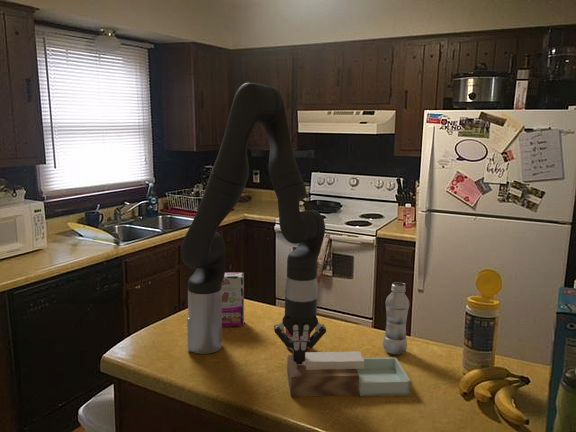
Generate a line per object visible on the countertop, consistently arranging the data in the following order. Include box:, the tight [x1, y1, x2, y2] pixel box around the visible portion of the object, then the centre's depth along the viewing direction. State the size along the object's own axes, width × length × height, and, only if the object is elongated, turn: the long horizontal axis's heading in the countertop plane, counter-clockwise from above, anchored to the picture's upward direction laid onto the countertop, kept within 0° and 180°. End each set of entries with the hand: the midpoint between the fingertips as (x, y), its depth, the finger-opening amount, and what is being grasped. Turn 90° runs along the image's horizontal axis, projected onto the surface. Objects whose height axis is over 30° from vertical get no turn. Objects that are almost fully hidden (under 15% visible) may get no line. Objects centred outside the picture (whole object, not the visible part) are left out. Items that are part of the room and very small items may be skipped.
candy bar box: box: [222, 272, 245, 328], centre depth 154 cm, size 11×5×16 cm, turn 91°
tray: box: [357, 356, 412, 397], centre depth 122 cm, size 12×12×4 cm
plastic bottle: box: [382, 281, 410, 356], centre depth 137 cm, size 6×7×20 cm
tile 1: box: [304, 351, 335, 370], centre depth 120 cm, size 7×5×2 cm
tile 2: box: [331, 351, 364, 369], centre depth 121 cm, size 7×5×2 cm
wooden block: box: [286, 354, 359, 398], centre depth 121 cm, size 16×11×5 cm
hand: (298, 362), depth 120 cm, fingers closed
